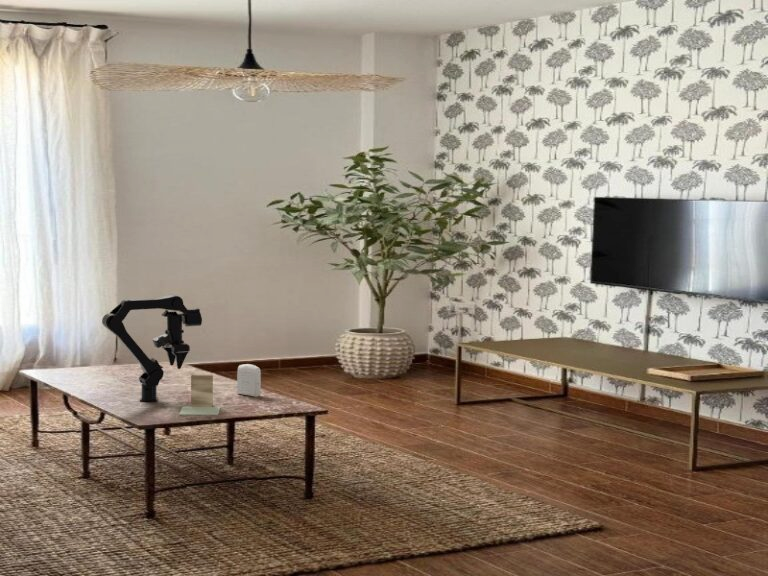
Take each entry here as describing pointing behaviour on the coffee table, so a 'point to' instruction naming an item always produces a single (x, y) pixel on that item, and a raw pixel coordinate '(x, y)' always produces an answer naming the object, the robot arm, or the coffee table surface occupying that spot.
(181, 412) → the mat
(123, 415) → the coffee table surface
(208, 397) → the birch tile
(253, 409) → the coffee table surface
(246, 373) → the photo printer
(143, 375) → the robot arm
